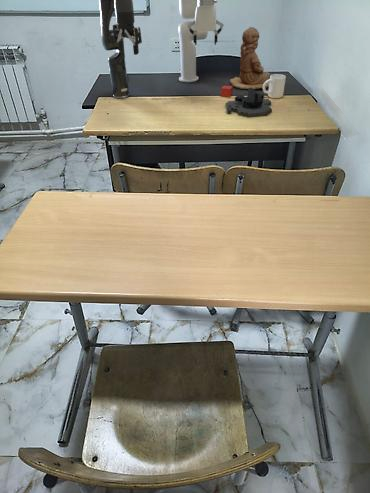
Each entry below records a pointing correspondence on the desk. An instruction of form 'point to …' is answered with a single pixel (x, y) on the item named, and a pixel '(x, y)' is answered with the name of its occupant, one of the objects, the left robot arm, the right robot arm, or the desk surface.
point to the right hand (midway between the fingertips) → (205, 44)
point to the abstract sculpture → (249, 104)
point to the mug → (275, 86)
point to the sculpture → (250, 63)
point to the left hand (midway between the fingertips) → (128, 53)
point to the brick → (226, 91)
